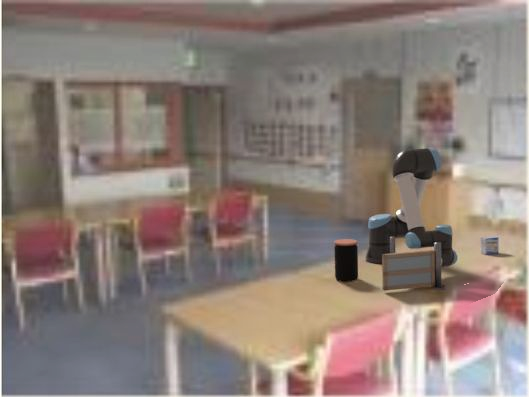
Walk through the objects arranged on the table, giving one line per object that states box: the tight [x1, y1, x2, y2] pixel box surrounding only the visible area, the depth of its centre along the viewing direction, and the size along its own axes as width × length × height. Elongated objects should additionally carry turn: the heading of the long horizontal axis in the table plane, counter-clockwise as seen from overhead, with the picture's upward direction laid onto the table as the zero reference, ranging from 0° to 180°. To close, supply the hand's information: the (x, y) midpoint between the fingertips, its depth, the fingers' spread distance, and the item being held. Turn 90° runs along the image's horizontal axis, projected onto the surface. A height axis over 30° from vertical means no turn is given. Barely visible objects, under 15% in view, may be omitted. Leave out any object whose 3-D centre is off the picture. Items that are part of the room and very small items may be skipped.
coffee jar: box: [333, 238, 359, 283], centre depth 325 cm, size 11×11×18 cm
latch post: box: [390, 236, 397, 254], centre depth 325 cm, size 2×2×19 cm
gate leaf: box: [381, 249, 435, 292], centre depth 301 cm, size 23×2×16 cm, turn 101°
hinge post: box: [430, 242, 446, 291], centre depth 304 cm, size 6×6×20 cm
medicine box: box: [480, 236, 500, 256], centre depth 366 cm, size 8×4×9 cm, turn 105°
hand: (392, 270), depth 306 cm, fingers closed
